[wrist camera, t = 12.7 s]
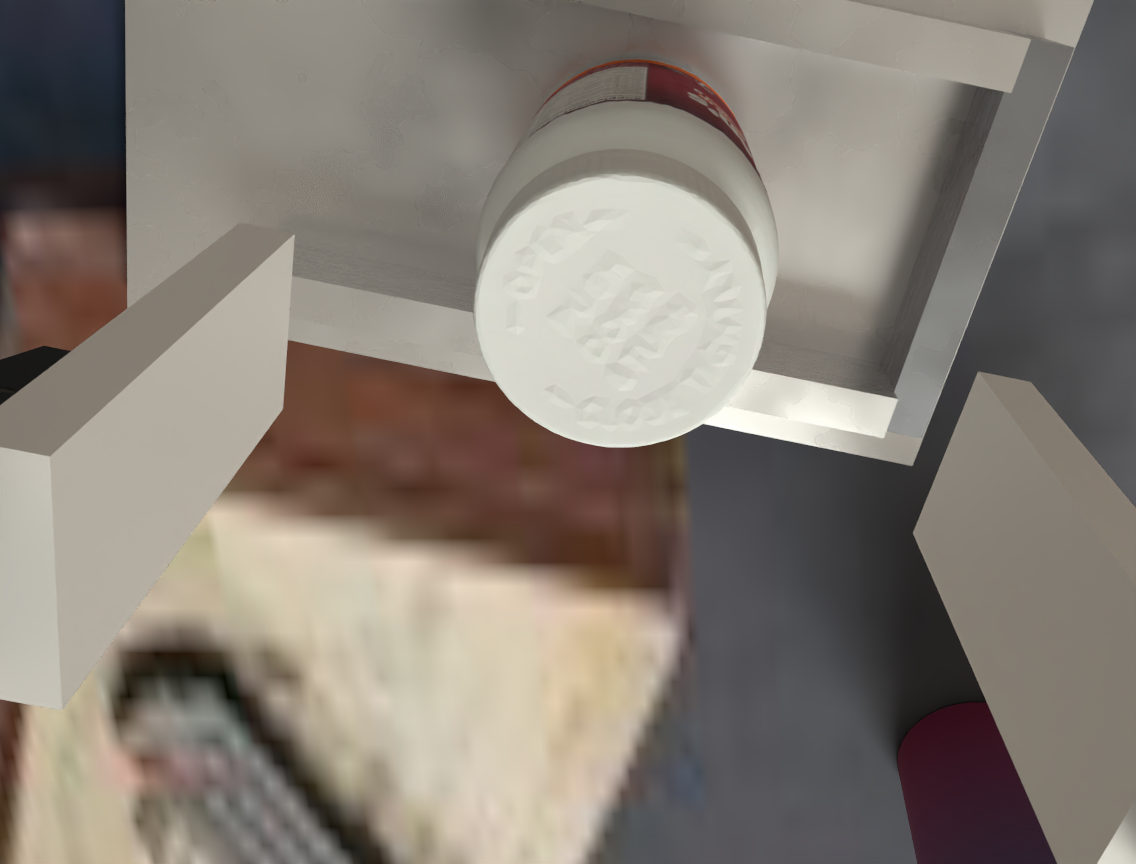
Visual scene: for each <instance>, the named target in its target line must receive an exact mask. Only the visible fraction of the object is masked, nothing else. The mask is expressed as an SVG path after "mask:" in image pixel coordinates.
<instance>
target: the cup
mask: <svg viewBox="0 0 1136 864" xmlns="http://www.w3.org/2000/svg"><path fill="white" fill-rule="evenodd" d="M897 763H898V771H899V776H900V781H901V785H902V790H903V795H904V800H905V805H906V810H907V815H908V820H909V825H910V830H911V834H912V839H913V844H914V849H915V854H916V859H917V864H1057V862H1056V860H1055V857H1054V855H1053V853H1052V850H1051V848H1050V846H1049V844H1048V841H1047V839H1046V837H1045V834H1044V832H1043V830H1042V828H1041V825H1040V823H1039V821H1038V818H1037V816H1036V814H1035V812H1034V809H1033V807H1032V805H1031V802H1030V800H1029V798H1028V796H1027V793H1026V791H1025V789H1024V786H1023V784H1022V782H1021V779H1020V777H1019V775H1018V773H1017V770H1016V768H1015V766H1014V763H1013V761H1012V759H1011V757H1010V754H1009V752H1008V750H1007V747H1006V745H1005V743H1004V741H1003V738H1002V736H1001V734H1000V731H999V729H998V727H997V725H996V722H995V720H994V718H993V715H992V713H991V711H990V709H989V706H988V704H987V703H986V702H970V703H962V704H956V705H952V706H949V707H945V708H942V709H940V710H938V711H935V712H933V713H931V714H929V715H928V716H926V717H925V718H923V719H922V720H920V721H919V722H918V723H917V724H916V725H914V726H913V727H912V728H911V729H910V730H909V732H908V733H907V735H906V736H905V738H904V739H903V741H902V743H901V746H900V748H899V751H898V759H897Z"/></svg>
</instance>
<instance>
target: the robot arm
mask: <svg viewBox="0 0 1136 864" xmlns="http://www.w3.org/2000/svg"><path fill="white" fill-rule="evenodd" d="M294 239H295V234H294V233H289V232H284V231H280V230H275V229H270V228H265V227H260V226H255V225H250V224H245V223H239V224H238V225H237V226H235V227H234V228H233V229H231V230H230V231H229V232H227V233H226V234H225V235H223V236H222V237H221V238H220V239H218V240H217V241H216V242H214V243H213V244H212V245H210V246H209V247H208V248H206V249H205V250H204V251H202V252H201V253H200V254H198V255H197V256H196V257H195V258H193V259H192V260H191V261H189V262H188V263H187V264H185V265H184V266H183V267H181V268H180V269H179V270H177V271H176V272H175V273H173V274H172V275H171V276H170V277H168V278H167V279H166V280H164V281H163V282H162V283H160V284H159V285H158V286H156V287H155V288H154V289H152V290H151V291H150V292H148V293H147V294H146V295H145V296H143V297H142V298H141V299H139V300H138V301H137V302H135V303H134V304H133V305H131V306H130V307H129V308H127V309H126V310H125V311H123V312H122V313H121V314H120V315H118V316H117V317H116V318H114V319H113V320H112V321H110V322H109V323H108V324H106V325H105V326H104V327H102V328H101V329H100V330H98V331H97V332H96V333H95V334H93V335H92V336H91V337H89V338H88V339H87V340H85V341H84V342H83V343H81V344H80V345H79V346H77V347H76V348H75V349H73V350H72V351H67V350H62V349H57V348H52V347H47V346H42V347H39V348H36V349H33V350H30V351H26V352H23V353H20V354H17V355H14V356H11V357H8V358H5V359H1V360H0V699H2V700H8V701H13V702H18V703H23V704H29V705H34V706H39V707H45V708H50V709H55V710H61V711H62V710H63V709H64V707H65V706H66V705H67V703H68V702H69V701H70V699H71V698H72V696H73V695H74V694H75V692H76V691H77V690H78V688H79V687H80V685H81V684H82V683H83V681H84V680H85V679H86V677H87V676H88V675H89V673H90V672H91V670H92V669H93V668H94V666H95V665H96V664H97V662H98V661H99V660H100V658H101V657H102V655H103V654H104V653H105V651H106V650H107V649H108V647H109V646H110V644H111V643H112V642H113V640H114V639H115V638H116V636H117V635H118V634H119V632H120V631H121V629H122V628H123V627H124V625H125V624H126V623H127V621H128V620H129V619H130V617H131V616H132V614H133V613H134V612H135V610H136V609H137V608H138V606H139V605H140V603H141V602H142V601H143V599H144V598H145V597H146V595H147V594H148V593H149V591H150V590H151V588H152V587H153V586H154V584H155V583H156V582H157V580H158V579H159V578H160V576H161V575H162V573H163V572H164V571H165V569H166V568H167V567H168V565H169V564H170V562H171V561H172V560H173V558H174V557H175V556H176V554H177V553H178V552H179V550H180V549H181V547H182V546H183V545H184V543H185V542H186V541H187V539H188V538H189V537H190V535H191V534H192V532H193V531H194V530H195V528H196V527H197V526H198V524H199V523H200V521H201V520H202V519H203V517H204V516H205V515H206V513H207V512H208V511H209V509H210V508H211V506H212V505H213V504H214V502H215V501H216V500H217V498H218V497H219V496H220V494H221V493H222V491H223V490H224V489H225V487H226V486H227V485H228V483H229V482H230V480H231V479H232V478H233V476H234V475H235V474H236V472H237V471H238V470H239V468H240V467H241V465H242V464H243V463H244V461H245V460H246V459H247V457H248V456H249V455H250V453H251V452H252V450H253V449H254V448H255V446H256V445H257V444H258V442H259V441H260V439H261V438H262V437H263V435H264V434H265V433H266V431H267V430H268V429H269V427H270V426H271V424H272V423H273V422H274V420H275V419H276V418H277V416H278V415H279V414H280V412H281V411H282V409H283V400H284V385H285V370H286V356H287V341H288V327H289V312H290V298H291V283H292V268H293V254H294ZM913 535H914V537H915V539H916V542H917V544H918V546H919V548H920V551H921V553H922V555H923V558H924V560H925V562H926V564H927V567H928V569H929V571H930V574H931V576H932V578H933V580H934V583H935V585H936V587H937V590H938V592H939V594H940V596H941V599H942V601H943V603H944V606H945V608H946V610H947V612H948V615H949V617H950V619H951V622H952V624H953V626H954V628H955V631H956V633H957V635H958V638H959V640H960V642H961V644H962V647H963V649H964V651H965V654H966V656H967V658H968V660H969V663H970V665H971V667H972V670H973V672H974V674H975V677H976V679H977V681H978V683H979V686H980V688H981V690H982V693H983V695H984V697H985V699H986V702H987V704H988V706H989V709H990V711H991V713H992V715H993V718H994V720H995V722H996V725H997V727H998V729H999V731H1000V734H1001V736H1002V738H1003V741H1004V743H1005V745H1006V747H1007V750H1008V752H1009V754H1010V757H1011V759H1012V761H1013V763H1014V766H1015V768H1016V770H1017V773H1018V775H1019V777H1020V779H1021V782H1022V784H1023V786H1024V789H1025V791H1026V793H1027V796H1028V798H1029V800H1030V802H1031V805H1032V807H1033V809H1034V812H1035V814H1036V816H1037V818H1038V821H1039V823H1040V825H1041V828H1042V830H1043V832H1044V834H1045V837H1046V839H1047V841H1048V844H1049V846H1050V848H1051V850H1052V853H1053V855H1054V857H1055V860H1056V862H1057V864H1136V508H1135V507H1134V506H1133V504H1132V503H1131V502H1130V501H1129V500H1128V498H1127V497H1126V496H1125V495H1124V494H1123V492H1122V491H1121V490H1120V489H1119V488H1118V486H1117V485H1116V484H1115V483H1114V482H1113V480H1112V479H1111V478H1110V477H1109V476H1108V474H1107V473H1106V472H1105V471H1104V470H1103V468H1102V467H1101V466H1100V465H1099V464H1098V462H1097V461H1096V460H1095V459H1094V458H1093V456H1092V455H1091V454H1090V453H1089V452H1088V450H1087V449H1086V448H1085V447H1084V446H1083V444H1082V443H1081V442H1080V441H1079V440H1078V438H1077V437H1076V436H1075V435H1074V434H1073V432H1072V431H1071V430H1070V429H1069V427H1068V426H1067V425H1066V424H1065V423H1064V421H1063V420H1062V419H1061V418H1060V417H1059V415H1058V414H1057V413H1056V412H1055V411H1054V409H1053V408H1052V407H1051V406H1050V405H1049V403H1048V402H1047V401H1046V400H1045V399H1044V397H1043V396H1042V395H1041V394H1040V393H1039V391H1038V390H1037V389H1036V388H1035V387H1034V385H1033V384H1032V383H1031V382H1028V381H1023V380H1018V379H1013V378H1008V377H1003V376H998V375H993V374H989V373H984V372H979V371H978V373H977V376H976V378H975V380H974V383H973V385H972V388H971V390H970V393H969V395H968V398H967V400H966V403H965V405H964V408H963V410H962V413H961V415H960V418H959V420H958V423H957V425H956V428H955V430H954V433H953V435H952V437H951V440H950V442H949V445H948V447H947V450H946V452H945V455H944V457H943V460H942V462H941V465H940V467H939V470H938V472H937V475H936V477H935V480H934V482H933V485H932V487H931V489H930V492H929V494H928V497H927V499H926V502H925V504H924V507H923V509H922V512H921V514H920V517H919V519H918V522H917V524H916V527H915V529H914V532H913Z"/></svg>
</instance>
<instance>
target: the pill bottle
mask: <svg viewBox="0 0 1136 864" xmlns="http://www.w3.org/2000/svg"><path fill="white" fill-rule="evenodd" d="M778 259H779V246H778V234H777V227H776V222H775V217H774V214H773V210H772V207H771V204H770V200H769V197H768V194H767V191H766V189H765V186H764V184H763V181H762V179H761V176H760V173H759V171H758V170H757V167H756V165H755V161H754V158H753V156H752V153H751V151H750V149H749V146H748V143H747V141H746V138H745V136H744V133H743V131H742V129H741V127H740V125H739V123H738V121H737V119H736V117H735V116H734V114H733V112H732V110H731V109H730V107H729V106H728V105H727V104H726V102H725V101H724V100H723V99H722V97H721V96H720V95H719V94H718V93H717V92H716V91H715V90H714V89H713V88H712V87H711V86H710V85H708V84H707V83H706V82H705V81H703V80H702V79H700V78H699V77H697V76H696V75H694V74H693V73H691V72H689V71H687V70H685V69H683V68H680V67H678V66H675V65H672V64H669V63H665V62H662V61H657V60H651V59H641V58H634V59H621V60H615V61H610V62H606V63H602V64H599V65H596V66H593V67H591V68H589V69H587V70H585V71H583V72H581V73H579V74H577V75H576V76H574V77H572V78H571V79H569V80H568V81H567V82H565V83H564V84H563V85H562V86H560V87H559V88H558V89H557V90H556V91H555V92H554V93H553V94H552V95H551V96H550V97H549V98H548V99H547V100H546V101H545V103H544V104H543V105H542V106H541V108H540V109H539V110H538V112H537V113H536V115H535V116H534V118H533V119H532V121H531V123H530V124H529V126H528V128H527V130H526V131H525V133H524V135H523V136H522V138H521V139H520V141H519V143H518V144H517V146H516V147H515V149H514V151H513V152H512V154H511V156H510V157H509V159H508V160H507V162H506V163H505V165H504V166H503V168H502V169H501V170H500V172H499V173H498V175H497V177H496V179H495V181H494V182H493V184H492V186H491V189H490V191H489V193H488V196H487V199H486V201H485V204H484V206H483V210H482V214H481V217H480V222H479V227H478V233H477V240H476V268H477V277H476V281H475V291H474V301H473V319H474V326H475V332H476V336H477V341H478V344H479V348H480V351H481V354H482V356H483V359H484V361H485V363H486V365H487V367H488V370H489V372H490V373H491V375H492V377H493V378H494V380H495V382H496V383H497V384H498V386H499V387H500V389H501V390H502V391H503V392H504V394H505V395H506V396H507V397H508V399H509V400H510V401H511V402H512V403H513V404H514V405H515V406H516V407H518V408H519V409H520V410H521V411H522V412H523V413H524V414H526V415H527V416H528V417H529V418H531V419H532V420H534V421H535V422H537V423H538V424H540V425H541V426H543V427H545V428H547V429H549V430H550V431H552V432H554V433H556V434H559V435H561V436H564V437H566V438H569V439H572V440H576V441H579V442H582V443H586V444H592V445H597V446H603V447H637V446H644V445H650V444H654V443H658V442H662V441H666V440H669V439H672V438H675V437H678V436H680V435H682V434H685V433H687V432H689V431H691V430H693V429H694V428H696V427H698V426H700V425H701V424H702V423H704V422H705V421H707V420H709V419H710V418H711V417H713V416H714V415H715V414H717V413H718V412H719V411H720V410H721V409H722V408H723V407H724V406H726V405H727V403H728V402H729V401H730V400H731V399H732V398H733V397H734V395H735V394H736V393H737V392H738V390H739V389H740V388H741V386H742V385H743V383H744V382H745V380H746V379H747V377H748V375H749V374H750V372H751V370H752V368H753V366H754V364H755V362H756V360H757V357H758V354H759V351H760V348H761V346H762V341H763V336H764V331H765V325H766V315H767V308H768V306H769V303H770V300H771V297H772V294H773V291H774V287H775V283H776V278H777V272H778Z"/></svg>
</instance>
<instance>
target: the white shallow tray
mask: <svg viewBox="0 0 1136 864" xmlns="http://www.w3.org/2000/svg"><path fill="white" fill-rule="evenodd" d="M1093 1H1094V0H125V51H126V186H127V307H128V308H129V307H130V306H131V305H133V304H134V303H135V302H137V301H138V300H139V299H141V298H142V297H143V296H145V295H146V294H147V293H148V292H150V291H151V290H152V289H154V288H155V287H156V286H158V285H159V284H160V283H162V282H163V281H164V280H166V279H167V278H168V277H170V276H171V275H172V274H173V273H175V272H176V271H177V270H179V269H180V268H181V267H183V266H184V265H185V264H187V263H188V262H189V261H191V260H192V259H193V258H195V257H196V256H197V255H198V254H200V253H201V252H202V251H204V250H205V249H206V248H208V247H209V246H210V245H212V244H213V243H214V242H216V241H217V240H218V239H220V238H221V237H222V236H223V235H225V234H226V233H227V232H229V231H230V230H231V229H233V228H234V227H235V226H237V225H238V224H239V223H245V224H250V225H255V226H260V227H265V228H270V229H275V230H280V231H284V232H289V233H294V234H295V239H294V254H293V268H292V283H291V298H290V312H289V327H288V340H291V341H296V342H301V343H306V344H311V345H316V346H321V347H326V348H331V349H336V350H341V351H346V352H351V353H356V354H361V355H365V356H370V357H375V358H380V359H385V360H390V361H395V362H400V363H405V364H410V365H415V366H420V367H425V368H430V369H435V370H440V371H445V372H450V373H455V374H460V375H464V376H469V377H474V378H479V379H484V380H489V381H494V382H495V380H494V378H493V377H492V375H491V373H490V372H489V370H488V367H487V365H486V363H485V361H484V359H483V356H482V354H481V351H480V348H479V344H478V341H477V336H476V332H475V326H474V319H473V301H474V291H475V281H476V277H477V268H476V240H477V233H478V227H479V222H480V217H481V214H482V210H483V206H484V204H485V201H486V199H487V196H488V193H489V191H490V189H491V186H492V184H493V182H494V181H495V179H496V177H497V175H498V173H499V172H500V170H501V169H502V168H503V166H504V165H505V163H506V162H507V160H508V159H509V157H510V156H511V154H512V152H513V151H514V149H515V147H516V146H517V144H518V143H519V141H520V139H521V138H522V136H523V135H524V133H525V131H526V130H527V128H528V126H529V124H530V123H531V121H532V119H533V118H534V116H535V115H536V113H537V112H538V110H539V109H540V108H541V106H542V105H543V104H544V103H545V101H546V100H547V99H548V98H549V97H550V96H551V95H552V94H553V93H554V92H555V91H556V90H557V89H558V88H559V87H560V86H562V85H563V84H564V83H565V82H567V81H568V80H569V79H571V78H572V77H574V76H576V75H577V74H579V73H581V72H583V71H585V70H587V69H589V68H591V67H593V66H596V65H599V64H602V63H606V62H610V61H615V60H621V59H634V58H641V59H651V60H657V61H662V62H665V63H669V64H672V65H675V66H678V67H680V68H683V69H685V70H687V71H689V72H691V73H693V74H694V75H696V76H697V77H699V78H700V79H702V80H703V81H705V82H706V83H707V84H708V85H710V86H711V87H712V88H713V89H714V90H715V91H716V92H717V93H718V94H719V95H720V96H721V97H722V99H723V100H724V101H725V102H726V104H727V105H728V106H729V107H730V109H731V110H732V112H733V114H734V116H735V117H736V119H737V121H738V123H739V125H740V127H741V129H742V131H743V133H744V136H745V138H746V141H747V143H748V146H749V149H750V151H751V153H752V156H753V158H754V161H755V165H756V167H757V170H758V171H759V173H760V176H761V179H762V181H763V184H764V186H765V189H766V191H767V194H768V197H769V200H770V204H771V207H772V210H773V214H774V217H775V222H776V227H777V234H778V246H779V259H778V272H777V278H776V283H775V287H774V291H773V294H772V297H771V300H770V303H769V306H768V308H767V315H766V325H765V331H764V336H763V341H762V346H761V348H760V351H759V354H758V357H757V360H756V362H755V364H754V366H753V368H752V370H751V372H750V374H749V375H748V377H747V379H746V380H745V382H744V383H743V385H742V386H741V388H740V389H739V390H738V392H737V393H736V394H735V395H734V397H733V398H732V399H731V400H730V401H729V402H728V403H727V405H726V406H724V407H723V408H722V409H721V410H720V411H719V412H718V413H717V414H715V415H714V416H713V417H711V418H710V419H709V420H707V421H705V422H704V423H702V424H707V425H712V426H717V427H722V428H727V429H732V430H737V431H742V432H746V433H751V434H756V435H761V436H766V437H771V438H776V439H781V440H786V441H791V442H796V443H801V444H806V445H811V446H816V447H821V448H826V449H831V450H836V451H841V452H845V453H850V454H855V455H860V456H865V457H870V458H875V459H880V460H885V461H890V462H895V463H900V464H905V465H910V466H913V463H914V461H915V458H916V456H917V453H918V450H919V448H920V445H921V443H922V440H923V438H924V435H925V432H926V430H927V427H928V425H929V422H930V420H931V417H932V414H933V412H934V409H935V407H936V404H937V402H938V399H939V396H940V394H941V391H942V389H943V386H944V384H945V381H946V379H947V376H948V373H949V371H950V368H951V366H952V363H953V361H954V358H955V355H956V353H957V350H958V348H959V345H960V343H961V340H962V337H963V335H964V332H965V330H966V327H967V325H968V322H969V319H970V317H971V314H972V312H973V309H974V307H975V304H976V302H977V299H978V296H979V294H980V291H981V289H982V286H983V284H984V281H985V278H986V276H987V273H988V271H989V268H990V266H991V263H992V260H993V258H994V255H995V253H996V250H997V248H998V245H999V242H1000V240H1001V237H1002V235H1003V232H1004V230H1005V227H1006V225H1007V222H1008V219H1009V217H1010V214H1011V212H1012V209H1013V207H1014V204H1015V201H1016V199H1017V196H1018V194H1019V191H1020V189H1021V186H1022V183H1023V181H1024V178H1025V176H1026V173H1027V171H1028V168H1029V166H1030V163H1031V160H1032V158H1033V155H1034V153H1035V150H1036V148H1037V145H1038V142H1039V140H1040V137H1041V135H1042V132H1043V130H1044V127H1045V124H1046V122H1047V119H1048V117H1049V114H1050V112H1051V109H1052V106H1053V104H1054V101H1055V99H1056V96H1057V94H1058V91H1059V89H1060V86H1061V83H1062V81H1063V78H1064V76H1065V73H1066V71H1067V68H1068V65H1069V63H1070V60H1071V58H1072V55H1073V53H1074V50H1075V47H1076V45H1077V42H1078V40H1079V37H1080V35H1081V32H1082V29H1083V27H1084V24H1085V22H1086V19H1087V17H1088V14H1089V12H1090V9H1091V6H1092V4H1093Z"/></svg>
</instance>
